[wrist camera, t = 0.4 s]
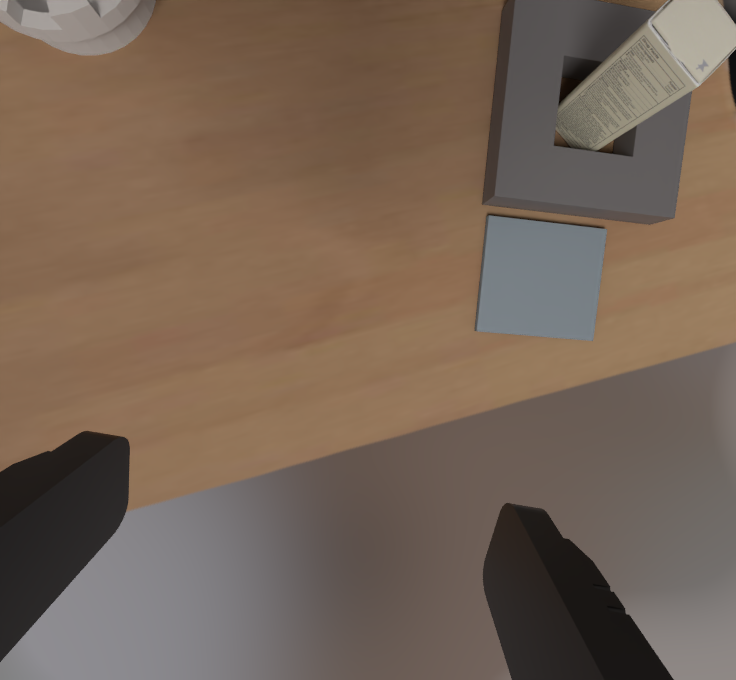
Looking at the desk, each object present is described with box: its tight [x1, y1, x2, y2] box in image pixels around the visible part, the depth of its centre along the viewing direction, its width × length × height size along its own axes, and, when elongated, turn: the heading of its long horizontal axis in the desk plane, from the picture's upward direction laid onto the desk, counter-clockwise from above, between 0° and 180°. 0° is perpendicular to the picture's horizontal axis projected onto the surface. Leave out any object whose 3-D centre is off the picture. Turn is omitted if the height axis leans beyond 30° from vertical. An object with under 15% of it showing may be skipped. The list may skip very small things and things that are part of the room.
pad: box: [475, 215, 607, 341], centre depth 34 cm, size 10×11×1 cm
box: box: [556, 0, 736, 152], centre depth 28 cm, size 5×4×11 cm
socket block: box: [482, 0, 692, 225], centre depth 32 cm, size 16×16×2 cm
